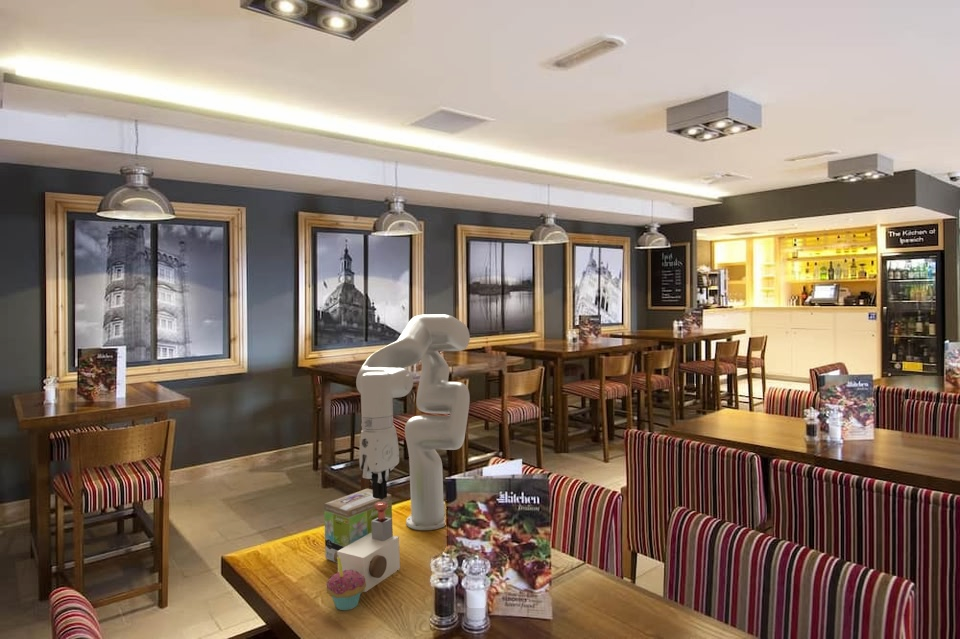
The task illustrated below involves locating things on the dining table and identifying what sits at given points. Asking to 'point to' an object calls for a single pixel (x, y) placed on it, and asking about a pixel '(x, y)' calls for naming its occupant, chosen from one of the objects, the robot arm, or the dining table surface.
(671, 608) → the dining table surface
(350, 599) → the cupcake
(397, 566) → the block
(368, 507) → the tea box
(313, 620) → the dining table surface
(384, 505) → the plunger
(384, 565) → the pin
